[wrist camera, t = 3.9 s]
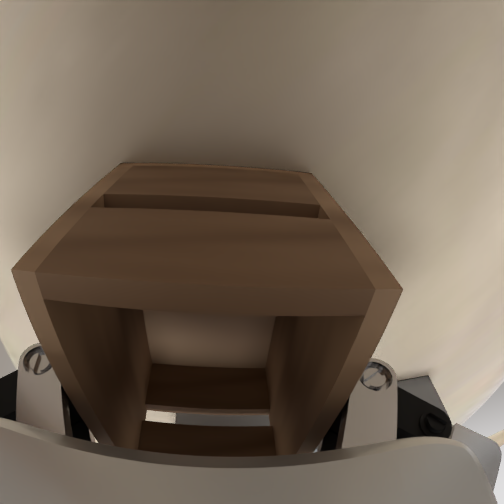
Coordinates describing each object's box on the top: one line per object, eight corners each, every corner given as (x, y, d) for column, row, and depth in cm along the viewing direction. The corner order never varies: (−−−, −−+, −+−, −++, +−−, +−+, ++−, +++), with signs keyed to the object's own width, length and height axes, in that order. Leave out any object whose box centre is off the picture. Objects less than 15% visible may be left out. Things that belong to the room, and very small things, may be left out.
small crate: (120, 163, 9) (11, 269, 4) (311, 173, 9) (403, 289, 4) (145, 359, 13) (124, 476, 8) (272, 364, 14) (290, 482, 9)
